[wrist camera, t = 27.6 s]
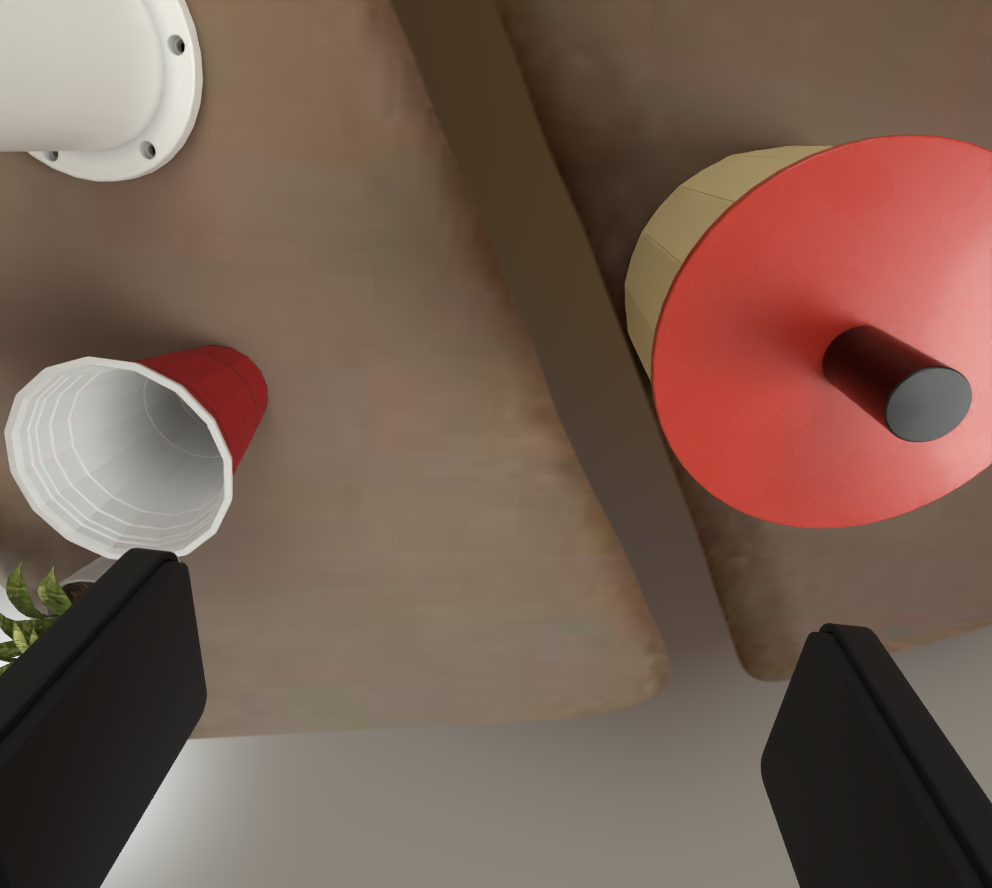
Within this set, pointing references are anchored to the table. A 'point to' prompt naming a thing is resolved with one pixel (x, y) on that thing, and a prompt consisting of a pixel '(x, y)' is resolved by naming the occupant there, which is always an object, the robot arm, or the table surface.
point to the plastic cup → (135, 446)
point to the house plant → (53, 598)
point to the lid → (837, 336)
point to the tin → (689, 232)
